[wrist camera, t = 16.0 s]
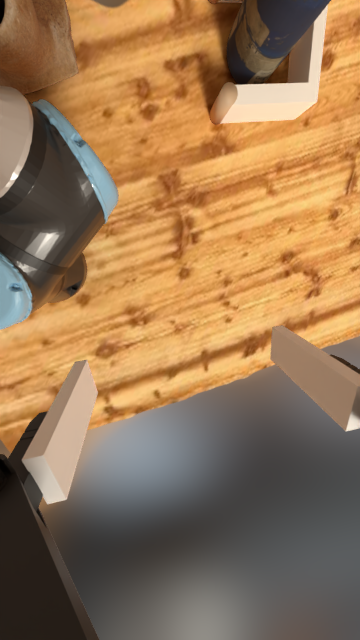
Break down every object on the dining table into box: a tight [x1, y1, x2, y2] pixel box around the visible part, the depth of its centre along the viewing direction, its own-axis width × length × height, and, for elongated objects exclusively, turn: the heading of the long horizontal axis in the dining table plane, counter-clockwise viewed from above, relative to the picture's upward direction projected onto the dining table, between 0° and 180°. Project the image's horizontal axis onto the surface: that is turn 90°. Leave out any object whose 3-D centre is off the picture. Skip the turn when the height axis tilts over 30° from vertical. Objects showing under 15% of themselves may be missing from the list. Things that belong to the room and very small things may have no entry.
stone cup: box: [0, 0, 78, 94], centre depth 27 cm, size 15×12×15 cm
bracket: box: [208, 0, 328, 124], centre depth 35 cm, size 17×18×6 cm
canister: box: [227, 0, 331, 85], centre depth 29 cm, size 10×10×18 cm
